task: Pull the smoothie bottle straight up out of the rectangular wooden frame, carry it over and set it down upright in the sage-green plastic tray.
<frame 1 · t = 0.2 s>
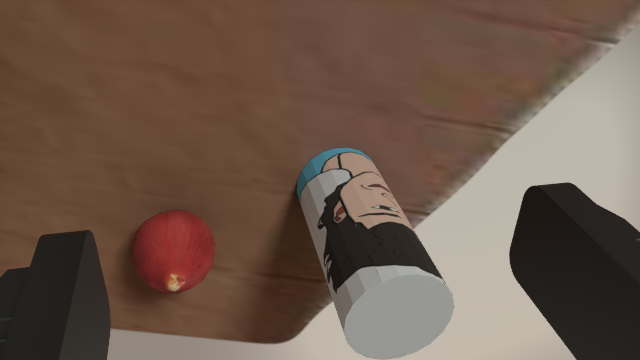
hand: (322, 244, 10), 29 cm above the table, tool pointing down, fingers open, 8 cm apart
cup: (337, 183, 45), on the table
onion: (174, 219, 44), on the table
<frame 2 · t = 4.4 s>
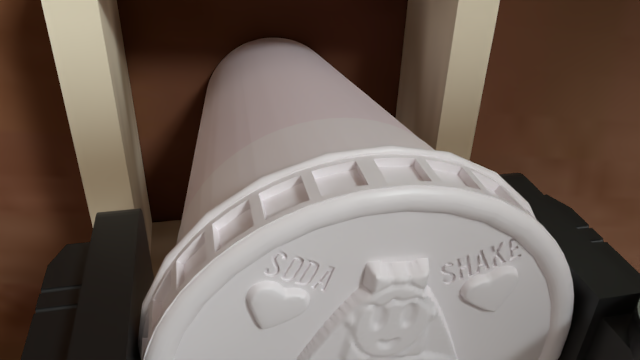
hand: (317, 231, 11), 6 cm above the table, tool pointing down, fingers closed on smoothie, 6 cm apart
smoothie: (271, 98, 16), resting in rectangular wooden frame, touching gripper
rectangular wooden frame: (272, 101, 16), on the table
when the fingers open (9 cm above the table, at t = 11.9 s): smoothie drops 2 cm, resting on tray.
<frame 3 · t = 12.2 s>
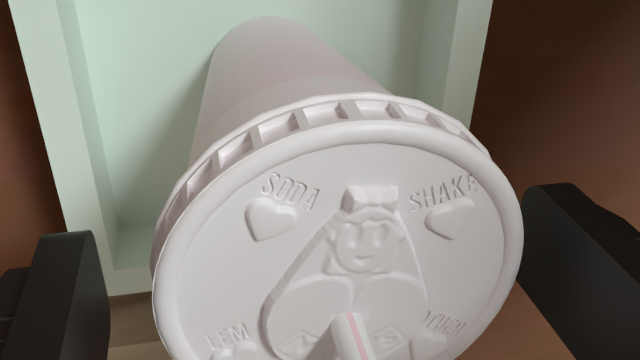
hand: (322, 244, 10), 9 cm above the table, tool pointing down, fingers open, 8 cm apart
smoothie: (269, 73, 17), point 1 cm above the table, touching tray
tray: (260, 70, 18), on the table
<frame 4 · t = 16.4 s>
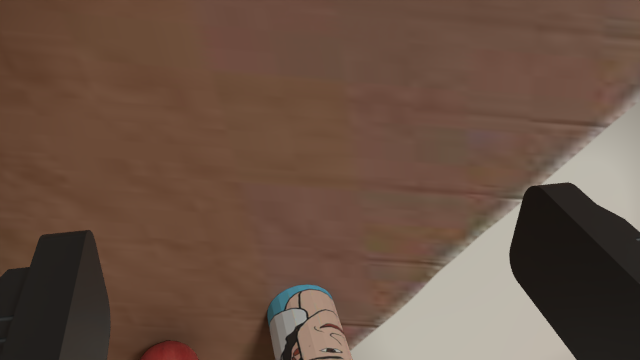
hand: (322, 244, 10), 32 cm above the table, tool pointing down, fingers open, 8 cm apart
cup: (300, 308, 56), on the table
onion: (168, 342, 55), on the table
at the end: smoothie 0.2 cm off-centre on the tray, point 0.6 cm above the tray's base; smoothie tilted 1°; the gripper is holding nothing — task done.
